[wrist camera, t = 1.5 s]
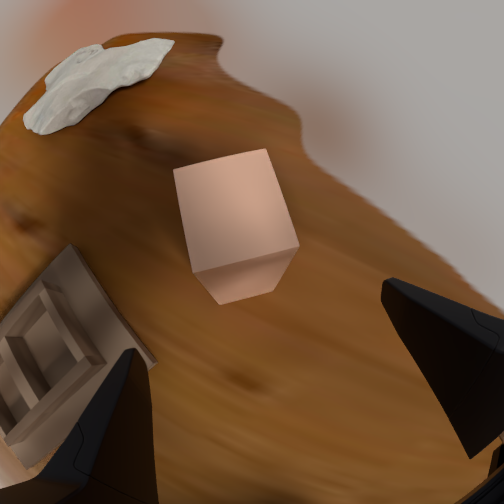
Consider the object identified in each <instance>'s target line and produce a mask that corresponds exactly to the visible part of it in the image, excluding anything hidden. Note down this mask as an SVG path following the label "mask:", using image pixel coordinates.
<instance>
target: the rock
mask: <svg viewBox="0 0 504 504" xmlns="http://www.w3.org/2000/svg"><path fill="white" fill-rule="evenodd" d="M173 44H174V41H172V40H166V39H159V38H153V39H148V40H145V41H140V42H138V43H135V44H132V45H129V46H124V47H115V48H109V49H107V50H104V49H103V47H102V45H98V44H95V45H91V46H89V47H85V48H81V49H79V50H77V51H76V52H74V53H73V54H72V55H71V56H69V57H68V58H66V59H65V60H64V61H63V62H61V63H60V64H59V65H58V66H57V67H55V68H54V69H53V70H52V72H51V73H50V74H49V75H48V76H47V77H46V79H45V83H46V90H47V92H46V93H45V94H44V95H43V96H42V97H41V98H40V99H39V100H38V102H37V103H36V104H35V105H34V106H33V107H32V108H31V109H29V110H28V111H27V112H26V113H25V114H24V117H23V121H24V124H25V127H26V128H27V129H31V130H33V132H35V133H39V135H47V134H50V133H53V132H55V131H58V130H60V129H62V128H64V127H66V126H70V125H75V124H76V123H78V122H79V121H80V120H81V119H82V118H84V117H85V116H86V115H87V114H88V113H89V112H90V111H91V110H93V109H94V108H96V107H97V106H99V105H100V104H102V103H103V101H104V100H105V99H106V98H107V97H108V95H109V94H110V93H111V92H113V91H114V90H116V89H117V88H120V87H124V86H131V85H133V84H135V83H137V82H139V81H141V80H145V79H147V78H149V77H150V76H151V75H152V74H153V72H154V71H155V70H156V69H157V68H158V67H159V65H160V63H161V61H162V60H163V58H164V56H165V55H166V54H167V53H168V52H169V51H170V50H171V47H172V45H173ZM109 82H110V83H109Z"/></svg>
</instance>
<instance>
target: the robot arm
mask: <svg viewBox="0 0 504 504" xmlns="http://www.w3.org/2000/svg"><path fill="white" fill-rule="evenodd" d="M381 302H382V305H383V306H384V308H385V310H386V312H387V314H388V316H389V318H390V320H391V322H392V324H393V326H394V328H395V330H396V331H397V333H398V335H399V337H400V338H401V340H402V341H403V343H404V345H405V346H406V348H407V349H408V351H409V352H410V354H411V356H412V357H413V359H414V360H415V362H416V364H417V365H418V367H419V368H420V370H421V372H422V373H423V375H424V377H425V378H426V380H427V382H428V383H429V385H430V387H431V388H432V390H433V392H434V394H435V395H436V397H437V399H438V401H439V402H440V404H441V406H442V408H443V409H444V411H445V413H446V415H447V417H448V418H449V421H450V422H451V424H452V426H453V428H454V430H455V432H456V434H457V436H458V438H459V439H460V441H461V443H462V445H463V447H464V449H465V451H466V453H467V455H468V457H469V459H472V458H473V457H474V456H476V455H477V454H478V453H479V452H481V451H482V450H483V449H484V448H485V447H487V446H488V445H489V444H490V443H491V442H492V441H494V440H495V439H496V438H497V437H499V438H500V440H501V441H502V444H501V445H500V446H499V447H498V448H497V449H495V450H494V451H493V455H492V460H491V465H490V469H489V474H488V478H487V479H485V480H484V481H483V482H482V483H481V484H479V485H478V486H477V487H476V488H474V489H473V490H472V491H471V492H469V493H468V494H467V495H465V496H464V497H463V498H461V499H460V500H459V501H457V502H456V503H455V504H504V320H503V319H499V318H497V317H494V316H491V315H488V314H485V313H483V312H480V311H478V310H475V309H473V308H471V309H470V307H468V306H465V305H463V304H460V303H458V302H455V301H453V300H450V299H448V298H445V297H443V296H440V295H438V294H435V293H433V292H430V291H428V290H425V289H422V288H420V287H417V286H415V285H412V284H410V283H407V282H404V281H402V280H399V279H396V278H393V277H392V278H389V279H386V280H384V281H383V284H382V292H381ZM0 504H159V502H158V493H157V484H156V473H155V460H154V445H153V423H152V402H151V394H150V386H149V378H148V368H147V364H146V362H145V360H144V359H143V357H142V356H141V354H140V353H139V351H138V350H137V349H136V348H129V349H125V350H124V351H123V353H122V354H121V356H120V357H119V358H118V360H117V361H116V363H115V364H114V366H113V367H112V369H111V370H110V372H109V373H108V375H107V376H106V378H105V379H104V381H103V382H102V383H101V385H100V386H99V388H98V390H97V391H96V393H95V394H94V396H93V397H92V399H91V400H90V402H89V403H88V405H87V406H86V408H85V409H84V411H83V413H82V414H81V416H80V417H79V419H78V422H76V423H75V425H74V427H73V428H72V430H71V431H70V433H69V434H68V436H67V437H66V439H65V440H64V442H63V443H62V444H61V446H60V447H59V449H58V450H57V451H56V453H55V454H54V455H53V457H52V458H51V459H50V461H49V462H48V463H47V465H46V466H45V467H44V469H43V470H42V471H41V472H40V473H39V474H38V475H37V476H36V477H34V478H32V479H30V480H28V481H25V482H22V483H18V484H15V485H12V486H9V487H5V488H2V489H0Z"/></svg>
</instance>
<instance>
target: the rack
mask: <svg viewBox="0 0 504 504" xmlns="http://www.w3.org/2000/svg"><path fill="white" fill-rule="evenodd" d="M129 348H136V349H137V350H138V351H139V353H140V354H141V356H142V357H143V359H144V360H145V362H146V364H147V368H148V371H149V370H150V369H151V368H152V367H153V366H154V365H155V364H157V363H158V362H157V360H156V359H155V358H154V357H153V356H152V354H151V353H150V352H149V351H148V350H147V348H146V347H145V346H144V345H143V343H142V342H141V341H140V339H139V338H138V337H137V336H136V334H135V333H134V332H133V330H132V329H131V328H130V326H129V325H128V324H127V322H126V321H125V320H124V318H123V317H122V316H121V314H120V313H119V311H118V310H117V309H116V307H115V306H114V304H113V303H112V301H111V300H110V299H109V297H108V296H107V294H106V293H105V291H104V290H103V288H102V287H101V285H100V284H99V282H98V281H97V279H96V278H95V276H94V274H93V273H92V271H91V270H90V268H89V266H88V265H87V263H86V262H85V260H84V258H83V257H82V255H81V253H80V252H79V250H78V248H77V247H76V246H74V245H72V244H71V243H70V244H69V245H68V246H67V247H66V248H65V249H64V250H63V251H62V252H61V253H60V254H59V255H58V256H57V257H56V258H55V259H54V260H53V261H52V262H51V263H50V265H49V266H48V267H47V268H46V269H45V270H44V271H43V272H42V273H41V274H40V276H39V277H38V278H37V279H36V280H35V281H34V282H33V283H32V285H31V286H30V287H29V288H28V289H27V290H26V292H25V293H24V294H23V295H22V296H21V298H20V299H19V300H18V301H17V303H16V304H15V305H14V306H13V308H12V309H11V310H10V311H9V313H8V314H7V315H6V316H5V318H4V319H3V320H2V322H1V323H0V435H1V436H2V438H3V439H4V441H5V443H6V444H7V446H8V447H9V446H10V447H11V449H12V450H13V452H14V453H15V454H16V456H17V457H18V459H19V460H20V462H21V463H22V464H23V466H24V467H25V468H26V470H27V469H29V468H31V467H33V466H34V465H36V464H37V463H38V462H39V461H41V460H42V459H43V458H44V457H46V456H47V455H48V454H49V453H51V452H52V451H53V450H54V449H56V448H57V447H58V446H59V445H61V444H62V443H63V442H64V440H65V439H66V437H67V436H68V434H69V433H70V431H71V430H72V428H73V427H74V425H75V423H76V422H78V419H79V417H80V416H81V414H82V413H83V411H84V409H85V408H86V406H87V405H88V403H89V402H90V400H91V399H92V397H93V396H94V394H95V393H96V391H97V390H98V388H99V386H100V385H101V383H102V382H103V381H104V379H105V378H106V376H107V375H108V373H109V372H110V370H111V369H112V367H113V366H114V364H115V363H116V361H117V360H118V358H119V357H120V356H121V354H122V353H123V351H124V350H125V349H129Z"/></svg>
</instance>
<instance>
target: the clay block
mask: <svg viewBox="0 0 504 504" xmlns="http://www.w3.org/2000/svg"><path fill="white" fill-rule="evenodd" d="M173 172H174V178H175V184H176V190H177V196H178V201H179V207H180V212H181V217H182V223H183V228H184V233H185V238H186V243H187V248H188V252H189V257H190V262H191V266H192V271H193V274H194V275H195V276H196V277H197V279H198V280H199V281H200V282H201V283H202V285H203V286H204V287H205V288H206V290H207V291H208V292H209V293H210V294H211V295H212V297H213V298H214V299H215V300H216V301H217V303H218V304H219V305H221V304H225V303H229V302H233V301H237V300H241V299H245V298H249V297H252V296H256V295H260V294H264V293H267V292H271V291H273V290H274V288H275V287H276V285H277V283H278V282H279V280H280V278H281V277H282V275H283V273H284V272H285V270H286V268H287V267H288V265H289V263H290V262H291V260H292V258H293V257H294V255H295V253H296V251H297V250H298V248H299V242H298V239H297V236H296V233H295V230H294V227H293V224H292V221H291V218H290V215H289V212H288V210H287V207H286V204H285V201H284V198H283V195H282V192H281V189H280V186H279V184H278V181H277V178H276V175H275V172H274V170H273V167H272V164H271V161H270V159H269V156H268V153H267V151H266V149H260V150H255V151H250V152H245V153H240V154H236V155H231V156H226V157H222V158H218V159H213V160H209V161H205V162H201V163H197V164H193V165H189V166H185V167H181V168H177V169H174V170H173Z"/></svg>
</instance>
